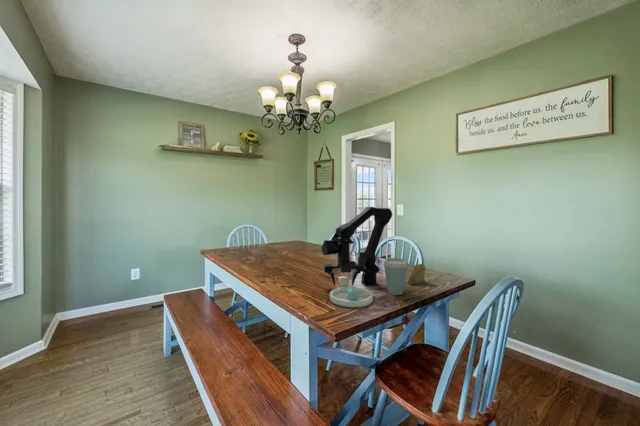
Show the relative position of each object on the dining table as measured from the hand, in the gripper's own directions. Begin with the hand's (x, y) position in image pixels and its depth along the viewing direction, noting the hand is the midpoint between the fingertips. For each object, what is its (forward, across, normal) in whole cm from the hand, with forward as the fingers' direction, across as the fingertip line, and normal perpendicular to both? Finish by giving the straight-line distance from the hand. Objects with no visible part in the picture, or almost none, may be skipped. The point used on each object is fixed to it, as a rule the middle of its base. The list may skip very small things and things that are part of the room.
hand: (343, 285), depth 136 cm
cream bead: (+1, 0, 0) cm, 1 cm away
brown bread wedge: (+1, +38, +5) cm, 38 cm away
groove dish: (+1, +1, -15) cm, 15 cm away
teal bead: (0, 0, -20) cm, 20 cm away
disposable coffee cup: (+1, +22, -9) cm, 24 cm away
